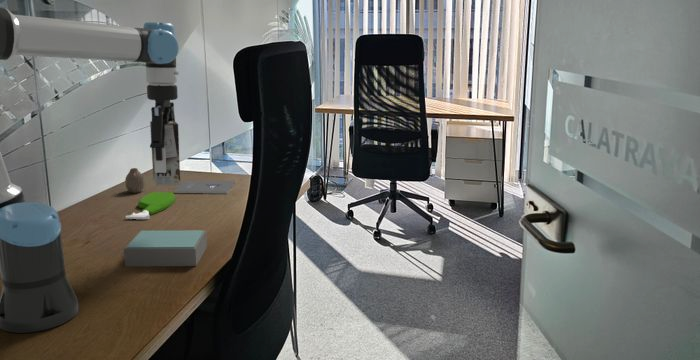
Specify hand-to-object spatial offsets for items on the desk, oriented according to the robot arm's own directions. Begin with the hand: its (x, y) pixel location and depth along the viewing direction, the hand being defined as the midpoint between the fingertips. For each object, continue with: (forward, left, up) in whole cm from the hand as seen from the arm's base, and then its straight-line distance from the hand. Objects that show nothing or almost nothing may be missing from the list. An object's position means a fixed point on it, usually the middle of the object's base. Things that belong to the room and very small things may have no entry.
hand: (165, 168), depth 158 cm
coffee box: (0, 0, -4) cm, 4 cm away
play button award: (+66, +4, -24) cm, 70 cm away
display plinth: (-5, 0, -23) cm, 24 cm away
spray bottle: (+38, +16, -24) cm, 48 cm away
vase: (+61, +29, -23) cm, 71 cm away
